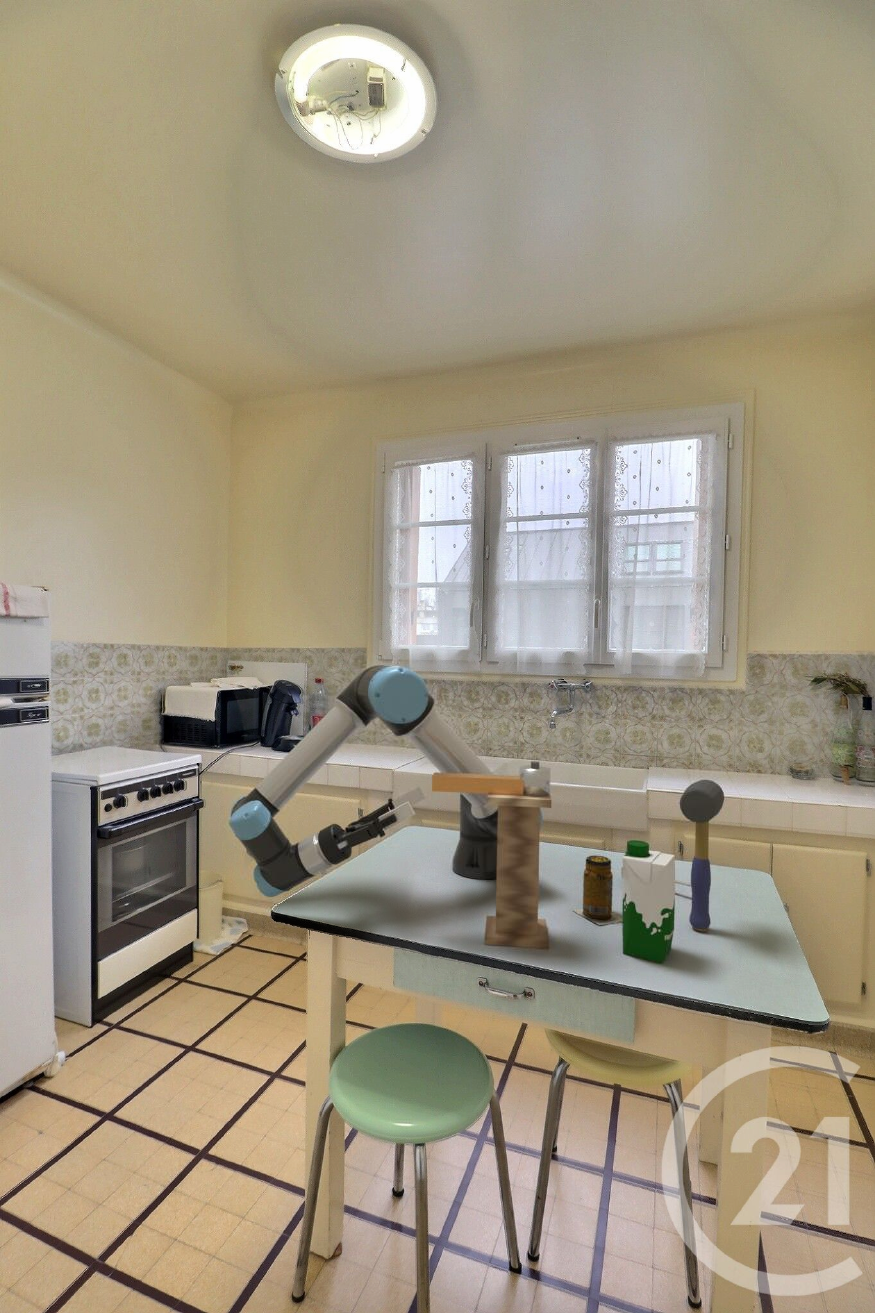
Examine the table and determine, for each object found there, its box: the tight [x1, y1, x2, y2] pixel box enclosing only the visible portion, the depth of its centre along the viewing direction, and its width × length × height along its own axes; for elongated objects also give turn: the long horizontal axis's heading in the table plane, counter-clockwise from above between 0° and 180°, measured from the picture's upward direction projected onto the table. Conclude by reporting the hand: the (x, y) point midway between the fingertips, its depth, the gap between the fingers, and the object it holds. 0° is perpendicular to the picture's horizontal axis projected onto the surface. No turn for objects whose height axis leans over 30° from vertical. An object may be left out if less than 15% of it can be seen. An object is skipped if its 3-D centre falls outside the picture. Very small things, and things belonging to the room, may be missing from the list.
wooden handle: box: [431, 760, 551, 797], centre depth 128 cm, size 23×6×6 cm, turn 83°
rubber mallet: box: [679, 779, 725, 932], centre depth 132 cm, size 12×8×30 cm, turn 149°
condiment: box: [573, 854, 622, 926], centre depth 138 cm, size 7×8×12 cm
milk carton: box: [621, 839, 676, 964], centre depth 122 cm, size 9×9×20 cm
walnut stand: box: [484, 794, 552, 950], centre depth 128 cm, size 12×10×28 cm
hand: (417, 799), depth 130 cm, fingers open, 13 cm apart
